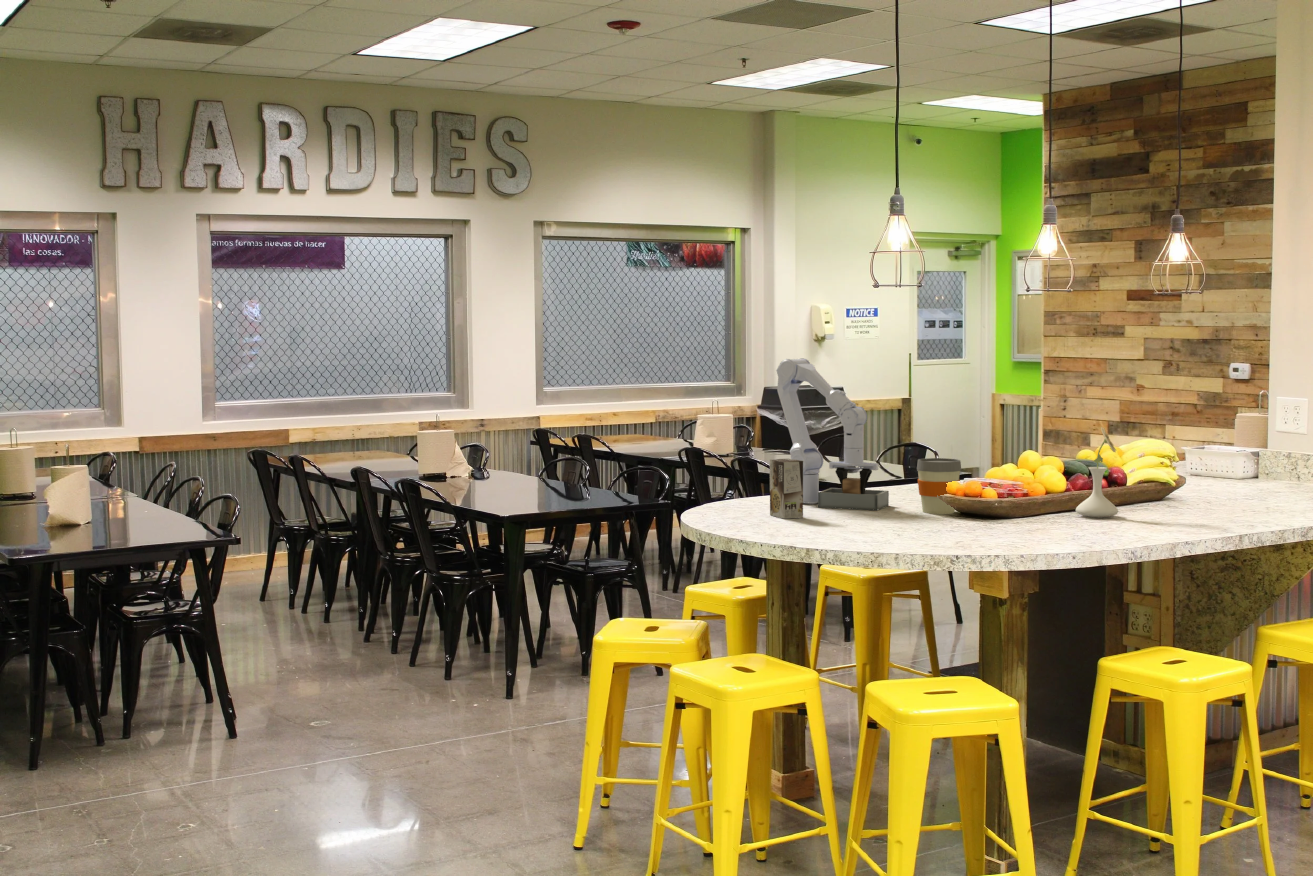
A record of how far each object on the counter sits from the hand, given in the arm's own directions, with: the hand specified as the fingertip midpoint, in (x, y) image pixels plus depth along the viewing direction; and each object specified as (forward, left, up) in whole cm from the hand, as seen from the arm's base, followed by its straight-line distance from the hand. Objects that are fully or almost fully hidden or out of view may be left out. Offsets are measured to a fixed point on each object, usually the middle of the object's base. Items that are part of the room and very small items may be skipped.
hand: (853, 493), depth 402 cm
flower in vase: (+69, +6, -4) cm, 69 cm away
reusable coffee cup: (+26, -2, -4) cm, 26 cm away
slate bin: (0, 0, -4) cm, 4 cm away
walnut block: (0, 0, -2) cm, 2 cm away
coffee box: (-11, -28, -4) cm, 30 cm away
